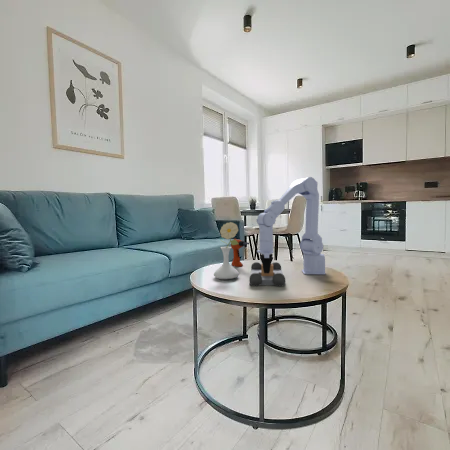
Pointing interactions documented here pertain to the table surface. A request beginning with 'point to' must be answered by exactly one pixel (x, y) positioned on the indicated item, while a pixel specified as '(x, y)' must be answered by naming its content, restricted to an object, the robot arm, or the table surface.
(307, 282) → the table surface
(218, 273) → the flower in vase
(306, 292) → the table surface
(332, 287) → the table surface
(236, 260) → the toy drill
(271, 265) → the block
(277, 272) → the chassis
